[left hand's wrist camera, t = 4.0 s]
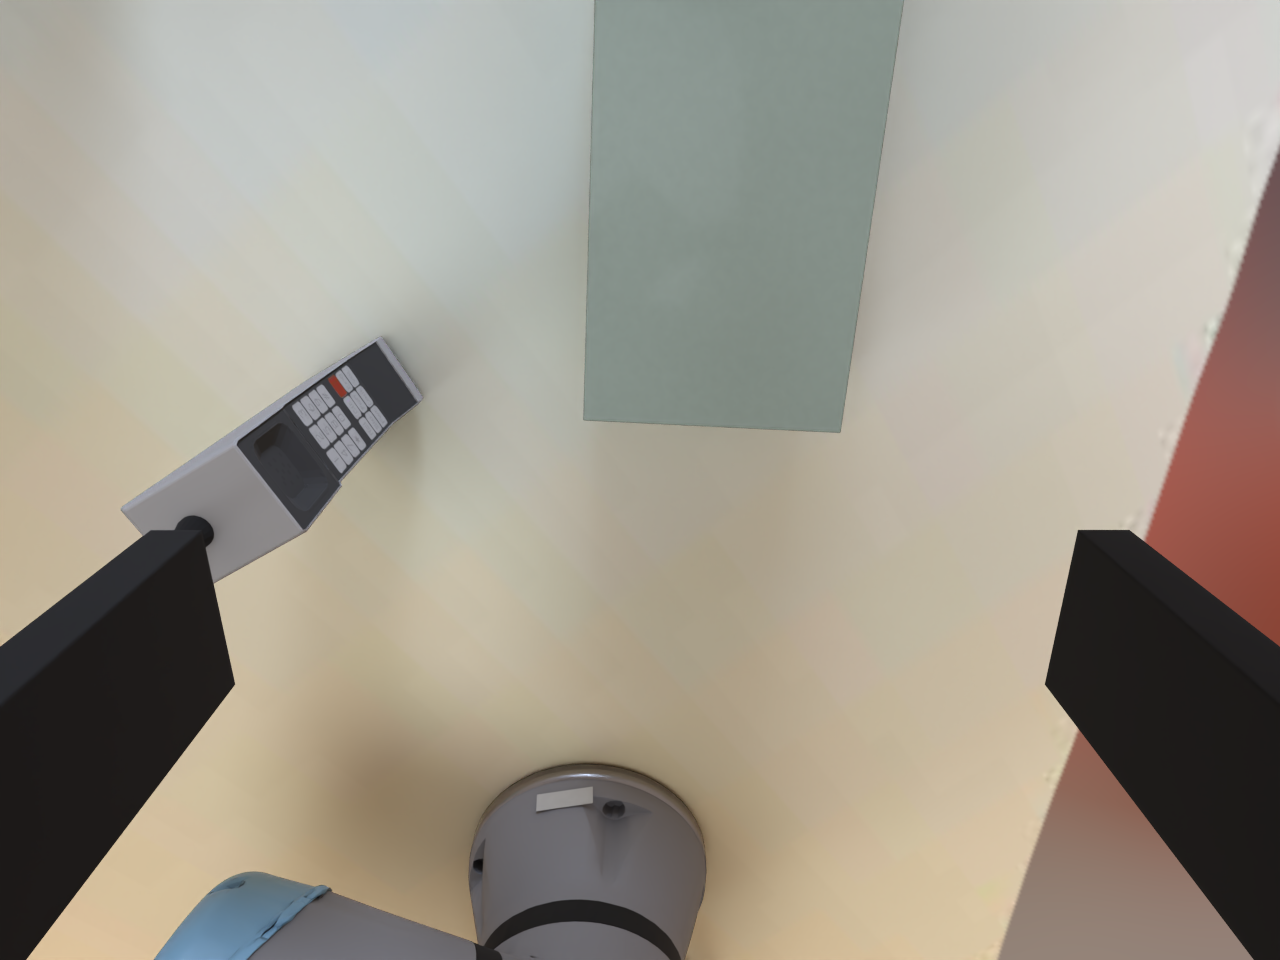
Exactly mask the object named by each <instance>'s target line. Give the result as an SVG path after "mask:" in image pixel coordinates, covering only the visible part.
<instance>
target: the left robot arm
mask: <svg viewBox="0 0 1280 960" xmlns="http://www.w3.org/2000/svg"><path fill="white" fill-rule="evenodd" d="M234 685H235V682H234V677H233V673H232V668H231V663H230V659H229V654H228V649H227V645H226V640H225V635H224V631H223V626H222V621H221V617H220V612H219V607H218V603H217V598H216V593H215V589H214V584H213V579H212V575H211V570H210V565H209V561H208V556H207V551H206V547H205V542H204V537H203V533H202V530H150V531H149V532H148V533H146V534H145V535H144V536H143V537H141V538H140V539H139V540H137V541H136V542H135V543H133V544H132V545H131V546H130V547H128V548H127V549H126V550H124V551H123V552H122V553H121V554H119V555H118V556H117V557H115V558H114V559H113V560H112V561H110V562H109V563H108V564H106V565H105V566H104V567H103V568H101V569H100V570H99V571H97V572H96V573H95V574H93V575H92V576H91V577H90V578H88V579H87V580H86V581H84V582H83V583H82V584H81V585H79V586H78V587H77V588H75V589H74V590H73V591H72V592H70V593H69V594H68V595H66V596H65V597H64V598H63V599H61V600H60V601H59V602H57V603H56V604H55V605H53V606H52V607H51V608H50V609H48V610H47V611H46V612H44V613H43V614H42V615H41V616H39V617H38V618H37V619H35V620H34V621H33V622H32V623H30V624H29V625H28V626H26V627H25V628H24V629H23V630H21V631H20V632H19V633H17V634H16V635H15V636H13V637H12V638H11V639H10V640H8V641H7V642H6V643H4V644H3V645H2V646H1V647H0V960H26V959H27V958H28V957H29V955H30V954H31V953H32V951H33V950H34V949H35V947H36V946H37V945H38V943H39V942H40V941H41V939H42V938H43V937H44V935H45V934H46V933H47V932H48V930H49V929H50V928H51V926H52V925H53V924H54V922H55V921H56V920H57V918H58V917H59V916H60V914H61V913H62V912H63V910H64V909H65V908H66V906H67V905H68V904H69V903H70V901H71V900H72V899H73V897H74V896H75V895H76V893H77V892H78V891H79V889H80V888H81V887H82V885H83V884H84V883H85V881H86V880H87V879H88V878H89V876H90V875H91V874H92V872H93V871H94V870H95V868H96V867H97V866H98V864H99V863H100V862H101V860H102V859H103V858H104V856H105V855H106V854H107V852H108V851H109V850H110V849H111V847H112V846H113V845H114V843H115V842H116V841H117V839H118V838H119V837H120V835H121V834H122V833H123V831H124V830H125V829H126V827H127V826H128V825H129V823H130V822H131V821H132V820H133V818H134V817H135V816H136V814H137V813H138V812H139V810H140V809H141V808H142V806H143V805H144V804H145V802H146V801H147V800H148V798H149V797H150V796H151V795H152V793H153V792H154V791H155V789H156V788H157V787H158V785H159V784H160V783H161V781H162V780H163V779H164V777H165V776H166V775H167V773H168V772H169V771H170V769H171V768H172V767H173V766H174V764H175V763H176V762H177V760H178V759H179V758H180V756H181V755H182V754H183V752H184V751H185V750H186V748H187V747H188V746H189V744H190V743H191V742H192V740H193V739H194V738H195V737H196V735H197V734H198V733H199V731H200V730H201V729H202V727H203V726H204V725H205V723H206V722H207V721H208V719H209V718H210V717H211V715H212V714H213V713H214V712H215V710H216V709H217V708H218V706H219V705H220V704H221V702H222V701H223V700H224V698H225V697H226V696H227V694H228V693H229V692H230V690H231V689H232V688H233V686H234ZM1045 685H1046V686H1047V688H1048V689H1049V690H1050V692H1051V693H1052V694H1053V696H1054V697H1055V698H1056V700H1057V701H1058V702H1059V704H1060V705H1061V706H1062V708H1063V709H1064V710H1065V712H1066V713H1067V714H1068V715H1069V717H1070V718H1071V719H1072V721H1073V722H1074V723H1075V725H1076V726H1077V727H1078V729H1079V730H1080V731H1081V732H1082V734H1083V735H1084V737H1085V738H1086V739H1087V740H1088V742H1089V743H1090V744H1091V746H1092V747H1093V748H1094V750H1095V751H1096V752H1097V754H1098V755H1099V756H1100V758H1101V759H1102V760H1103V761H1104V763H1105V764H1106V766H1107V767H1108V768H1109V769H1110V771H1111V772H1112V773H1113V775H1114V776H1115V777H1116V779H1117V780H1118V781H1119V783H1120V784H1121V785H1122V787H1123V788H1124V789H1125V791H1126V792H1127V793H1128V794H1129V796H1130V797H1131V798H1132V800H1133V801H1134V802H1135V804H1136V805H1137V806H1138V808H1139V809H1140V810H1141V812H1142V813H1143V814H1144V815H1145V817H1146V818H1147V819H1148V821H1149V822H1150V823H1151V825H1152V826H1153V827H1154V829H1155V830H1156V831H1157V833H1158V834H1159V835H1160V837H1161V838H1162V839H1163V841H1164V842H1165V843H1166V845H1167V846H1168V847H1169V849H1170V850H1171V851H1172V852H1173V854H1174V855H1175V856H1176V858H1177V859H1178V860H1179V862H1180V863H1181V864H1182V866H1183V867H1184V868H1185V870H1186V871H1187V872H1188V874H1189V875H1190V876H1191V877H1192V879H1193V880H1194V881H1195V883H1196V884H1197V885H1198V887H1199V888H1200V889H1201V891H1202V892H1203V893H1204V895H1205V896H1206V897H1207V899H1208V900H1209V901H1210V903H1211V904H1212V905H1213V906H1214V908H1215V909H1216V910H1217V912H1218V913H1219V914H1220V916H1221V917H1222V918H1223V920H1224V921H1225V922H1226V924H1227V925H1228V926H1229V928H1230V929H1231V930H1232V931H1233V933H1234V934H1235V935H1236V937H1237V938H1238V939H1239V941H1240V942H1241V943H1242V945H1243V946H1244V947H1245V949H1246V950H1247V951H1248V953H1249V954H1250V955H1251V957H1252V958H1253V959H1254V960H1280V647H1279V646H1278V645H1277V644H1276V643H1274V642H1273V641H1272V640H1270V639H1269V638H1268V637H1266V636H1265V635H1264V634H1263V633H1261V632H1260V631H1259V630H1257V629H1256V628H1255V627H1254V626H1252V625H1251V624H1250V623H1248V622H1247V621H1246V620H1245V619H1243V618H1242V617H1241V616H1239V615H1238V614H1237V613H1236V612H1234V611H1233V610H1232V609H1230V608H1229V607H1228V606H1226V605H1225V604H1224V603H1223V602H1221V601H1220V600H1219V599H1217V598H1216V597H1215V596H1214V595H1212V594H1211V593H1210V592H1208V591H1207V590H1206V589H1205V588H1203V587H1202V586H1201V585H1199V584H1198V583H1197V582H1196V581H1194V580H1193V579H1192V578H1190V577H1189V576H1188V575H1186V574H1185V573H1184V572H1183V571H1181V570H1180V569H1179V568H1177V567H1176V566H1175V565H1174V564H1172V563H1171V562H1170V561H1168V560H1167V559H1166V558H1165V557H1163V556H1162V555H1161V554H1159V553H1158V552H1157V551H1156V550H1154V549H1153V548H1152V547H1150V546H1149V545H1148V544H1147V543H1145V542H1144V541H1143V540H1141V539H1140V538H1139V537H1137V536H1136V535H1135V534H1134V533H1132V532H1131V531H1130V530H1078V533H1077V537H1076V542H1075V547H1074V551H1073V556H1072V561H1071V565H1070V570H1069V575H1068V579H1067V584H1066V589H1065V593H1064V598H1063V603H1062V607H1061V612H1060V617H1059V621H1058V626H1057V631H1056V635H1055V640H1054V645H1053V649H1052V654H1051V659H1050V663H1049V668H1048V673H1047V677H1046V682H1045ZM705 881H706V858H705V847H704V841H703V837H702V834H701V831H700V828H699V826H698V824H697V822H696V820H695V818H694V816H693V815H692V813H691V812H690V811H689V809H688V808H687V807H686V805H685V804H684V803H683V802H682V801H681V800H680V799H679V798H678V797H677V796H675V795H674V794H673V793H672V792H671V791H669V790H668V789H667V788H665V787H664V786H662V785H661V784H659V783H657V782H655V781H654V780H652V779H650V778H647V777H645V776H643V775H641V774H638V773H635V772H632V771H629V770H625V769H622V768H617V767H612V766H605V765H594V764H580V765H568V766H560V767H556V768H551V769H547V770H544V771H541V772H538V773H535V774H533V775H530V776H528V777H526V778H524V779H522V780H520V781H518V782H516V783H515V784H513V785H512V786H510V787H509V788H507V789H506V790H505V791H504V792H502V793H501V794H500V795H499V796H498V797H497V798H496V799H495V800H494V801H493V802H492V803H491V804H490V806H489V807H488V808H487V809H486V811H485V813H484V814H483V816H482V817H481V820H480V822H479V824H478V826H477V829H476V832H475V836H474V840H473V844H472V848H471V853H470V861H469V888H470V895H471V901H472V908H473V914H474V921H475V927H476V934H477V940H478V944H476V943H473V942H472V941H469V940H466V939H463V938H460V937H457V936H454V935H451V934H448V933H446V932H443V931H440V930H437V929H434V928H431V927H428V926H425V925H422V924H419V923H417V922H414V921H411V920H408V919H405V918H402V917H399V916H396V915H393V914H390V913H387V912H385V911H382V910H379V909H376V908H373V907H371V906H368V905H365V904H363V903H360V902H357V901H354V900H352V899H349V898H346V897H344V896H341V895H338V894H336V893H333V892H332V889H331V888H329V887H327V886H324V885H319V886H316V887H314V886H310V885H306V884H303V883H299V882H295V881H291V880H288V879H284V878H280V877H277V876H274V875H270V874H267V873H263V872H245V873H241V874H237V875H235V876H232V877H230V878H228V879H226V880H225V881H223V882H222V883H220V884H219V885H217V886H216V887H215V888H214V889H212V890H211V891H210V892H209V893H208V894H207V895H206V896H205V897H204V898H203V899H202V900H201V901H200V902H199V903H198V904H197V906H196V907H195V908H194V909H193V910H192V911H191V912H190V914H189V915H188V916H187V917H186V918H185V920H184V921H183V922H182V923H181V925H180V926H179V927H178V928H177V930H176V931H175V932H174V934H173V935H172V936H171V937H170V939H169V940H168V941H167V943H166V944H165V945H164V947H163V948H162V949H161V951H160V952H159V953H158V955H157V956H156V957H155V959H154V960H685V957H686V953H687V950H688V946H689V943H690V940H691V936H692V932H693V929H694V925H695V921H696V917H697V913H698V910H699V908H700V906H701V903H702V900H703V896H704V891H705Z"/></svg>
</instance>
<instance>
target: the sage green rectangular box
mask: <svg viewBox="0 0 1280 960" xmlns="http://www.w3.org/2000/svg"><path fill="white" fill-rule="evenodd" d="M903 3H904V0H595V12H594V49H593V86H592V123H591V159H590V196H589V233H588V270H587V307H586V343H585V380H584V417H583V419H584V420H586V421H606V422H627V423H648V424H668V425H689V426H709V427H730V428H750V429H771V430H792V431H812V432H833V433H840V432H841V425H842V419H843V412H844V405H845V398H846V391H847V385H848V378H849V371H850V364H851V357H852V350H853V344H854V337H855V330H856V323H857V316H858V310H859V303H860V296H861V289H862V282H863V276H864V269H865V262H866V255H867V248H868V242H869V235H870V228H871V221H872V214H873V208H874V201H875V194H876V187H877V180H878V173H879V167H880V160H881V153H882V146H883V139H884V133H885V126H886V119H887V112H888V105H889V99H890V92H891V85H892V78H893V71H894V65H895V58H896V51H897V44H898V37H899V31H900V24H901V17H902V10H903Z"/></svg>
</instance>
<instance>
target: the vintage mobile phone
mask: <svg viewBox="0 0 1280 960" xmlns="http://www.w3.org/2000/svg"><path fill="white" fill-rule="evenodd" d="M422 399H423V396H422V395H421V394H420V392H419V391H418V389H417V388H416V386H415V385H414V383H413V382H412V380H411V379H410V377H409V376H408V375H407V373H406V372H405V370H404V369H403V367H402V366H401V364H400V363H399V361H398V360H397V358H396V357H395V356H394V354H393V353H392V351H391V350H390V348H389V347H388V345H387V344H386V342H385V341H384V339H383V338H382V337H378V338H376V339H375V340H373V341H371V342H370V343H368V344H366V345H365V346H363V347H361V348H360V349H358V350H356V351H355V352H353V353H351V354H350V355H348V356H346V357H345V358H343V359H341V360H340V361H338V362H336V363H335V364H333V365H331V366H330V367H328V368H326V369H325V370H323V371H321V372H320V373H318V374H316V375H315V376H313V377H311V378H310V379H308V380H306V381H305V382H303V383H302V384H300V385H299V386H297V387H296V388H294V389H293V390H291V391H290V392H288V393H287V394H286V395H284V396H283V397H281V398H280V399H278V400H277V401H275V402H274V403H272V404H271V405H270V406H268V407H267V408H265V409H264V410H262V411H261V412H259V413H258V414H256V415H255V416H254V417H252V418H251V419H249V420H248V421H246V422H245V423H243V424H242V425H240V426H239V427H237V428H236V429H235V430H233V431H232V432H230V433H229V434H227V435H226V436H224V437H223V438H221V439H220V440H219V441H217V442H216V443H214V444H213V445H211V446H210V447H208V448H207V449H205V450H204V451H202V452H201V453H200V454H198V455H197V456H195V457H194V458H192V459H191V460H189V461H188V462H186V463H185V464H184V465H182V466H181V467H179V468H178V469H176V470H175V471H173V472H172V473H170V474H169V475H168V476H166V477H165V478H163V479H162V480H160V481H159V482H157V483H156V484H154V485H153V486H151V487H150V488H149V489H147V490H146V491H144V492H143V493H141V494H140V495H138V496H137V497H135V498H134V499H133V500H131V501H130V502H128V503H127V504H125V505H124V506H122V507H121V511H122V512H123V513H124V514H125V516H126V517H127V518H128V519H129V520H130V521H131V522H132V524H133V525H134V526H135V527H136V528H137V529H138V531H139V532H140V533H141V534H142V535H143V536H144V535H145V534H146V533H148V532H149V531H150V530H202V533H203V537H204V542H205V547H206V551H207V556H208V561H209V565H210V570H211V575H212V579H213V584H214V583H215V582H217V581H219V580H221V579H223V578H224V577H226V576H228V575H230V574H232V573H233V572H235V571H237V570H239V569H240V568H242V567H244V566H246V565H248V564H249V563H251V562H253V561H255V560H257V559H258V558H260V557H262V556H264V555H265V554H267V553H269V552H271V551H273V550H274V549H276V548H278V547H280V546H282V545H283V544H285V543H287V542H289V541H291V540H292V539H294V538H296V537H298V536H299V535H301V534H303V533H305V532H306V531H307V530H308V529H309V528H310V527H311V525H312V524H313V523H314V521H315V520H316V519H317V518H318V516H319V515H320V514H321V512H322V511H323V510H324V509H325V507H326V506H327V505H328V503H329V502H330V501H331V500H332V498H333V497H334V496H335V495H336V493H337V492H338V491H339V489H340V488H341V487H342V485H341V481H342V480H343V479H344V478H345V477H346V475H347V474H348V473H349V472H350V471H351V470H352V469H353V468H354V467H355V465H356V464H357V463H358V462H359V461H360V460H361V459H362V458H363V457H364V456H365V454H366V453H367V452H368V451H369V450H370V449H371V448H372V447H373V446H374V444H375V443H376V442H377V441H378V440H379V439H380V438H381V437H382V436H383V435H384V433H385V432H386V431H387V430H388V429H389V428H390V427H391V426H392V425H393V424H394V423H395V422H396V421H398V420H399V419H400V418H401V417H403V416H404V415H405V414H406V413H408V412H409V411H410V410H412V409H413V408H414V407H415V406H417V405H418V404H419V403H420V402H421V400H422Z"/></svg>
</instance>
